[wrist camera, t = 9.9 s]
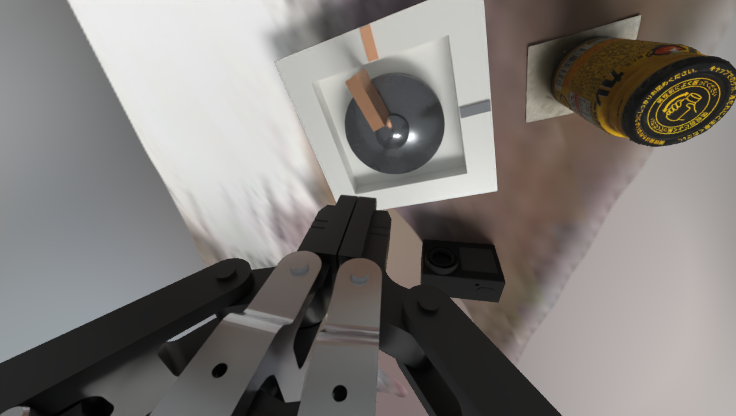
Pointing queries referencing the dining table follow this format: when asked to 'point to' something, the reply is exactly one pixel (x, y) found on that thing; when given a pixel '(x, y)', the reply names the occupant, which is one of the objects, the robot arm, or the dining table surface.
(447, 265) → the digital camera
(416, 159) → the dial
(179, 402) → the robot arm
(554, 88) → the condiment
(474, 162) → the panel
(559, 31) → the dining table surface
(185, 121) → the dining table surface
